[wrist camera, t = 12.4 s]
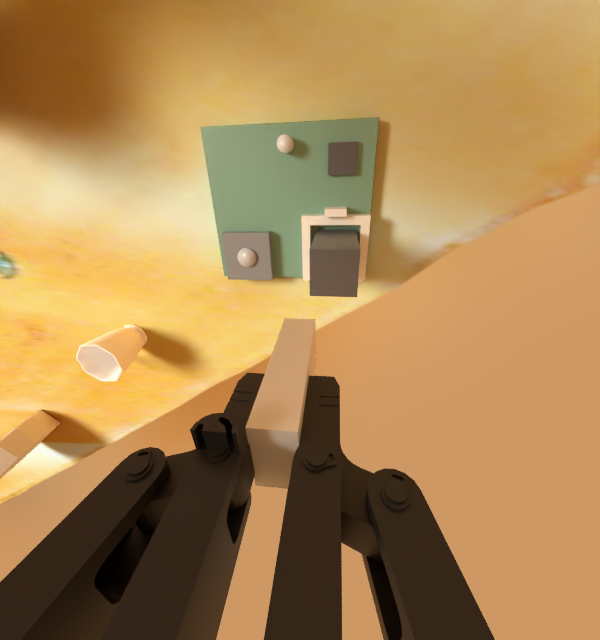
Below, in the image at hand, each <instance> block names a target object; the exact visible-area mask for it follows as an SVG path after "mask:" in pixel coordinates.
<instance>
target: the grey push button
mask: <svg viewBox="0 0 600 640" xmlns="http://www.w3.org/2000/svg"><path fill="white" fill-rule="evenodd" d="M221 236H222V243H223V249H224V255H225V262H226V268H227V274H228V279H240V280H272V279H273V278H274V268H273V254H272V241H271V231H224V232H222V233H221Z"/></svg>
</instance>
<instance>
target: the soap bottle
mask: <svg viewBox="0 0 600 640" xmlns="http://www.w3.org/2000/svg"><path fill="white" fill-rule="evenodd" d="M59 424H60V422H59V421H58V420H56V419H55V418H53V417H51V416H50V415H48V414H47V413H45V412H44V411H42V410H39V411H37V412H36V413H34V414H33V415H31V416H30V417H29V418H27V419H26V420H25V421H23V422H22V423H21V424H20V425H18V426H17V427H16V428H14V429H13V430H12V431H11V432H9V433H8V434H7V435H6V436H4V437H3V438H2V439H1V440H0V479H1V478H2V477H3V476H4V475H5V474H6V473H7V472H8V471H10V470H11V469H12V468H13V467H14V466H15V465H16V464H17V463H18V462H20V461H21V460H22V459H23V458H24V457H25V456H26V455H27V454H28V453H29V452H31V451H32V450H33V449H34V448H35V447H36V446H37V445H38V444H39V443H40V442H42V441H43V440H44V439H45V438H46V437H47V436H48V435H49V434H50V433H51V432H52V431H53V430H54V429H55V428H56V427H57V426H58V425H59Z"/></svg>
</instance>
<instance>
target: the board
mask: <svg viewBox="0 0 600 640" xmlns="http://www.w3.org/2000/svg"><path fill="white" fill-rule="evenodd" d="M378 123H379V117H378V118H360V119H341V120H323V121H304V122H286V123H267V124H249V125H230V126H212V127H201V133H202V139H203V145H204V151H205V158H206V164H207V170H208V176H209V182H210V188H211V195H212V201H213V207H214V213H215V219H216V225H217V232H218V238H219V244H220V250H221V256H222V262H223V269H224V275H225V276H228V274H227V268H226V262H225V255H224V249H223V243H222V236H221V233H222V232H224V231H271V241H272V254H273V268H274V277H303V267H302V223H301V216H302V215H303V214H325V207H347V214H370V213H371V202H372V191H373V179H374V168H375V157H376V145H377V134H378ZM318 229H355V231H356V235H357V238H358V242H359V232H360V225H311V242H313V239H314V237H315V234H316V232H317V230H318Z"/></svg>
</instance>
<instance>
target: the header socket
mask: <svg viewBox="0 0 600 640" xmlns="http://www.w3.org/2000/svg"><path fill="white" fill-rule="evenodd" d="M370 220H371V215H370V214H347V207H325V214H303V215H302V216H301V223H302V267H303V281H310V254H309V249H310V247H311V244H312V242H311V225H360V232H359V246H360V263H359V276H358V282H365V276H366V265H367V253H368V242H369V231H370Z"/></svg>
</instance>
